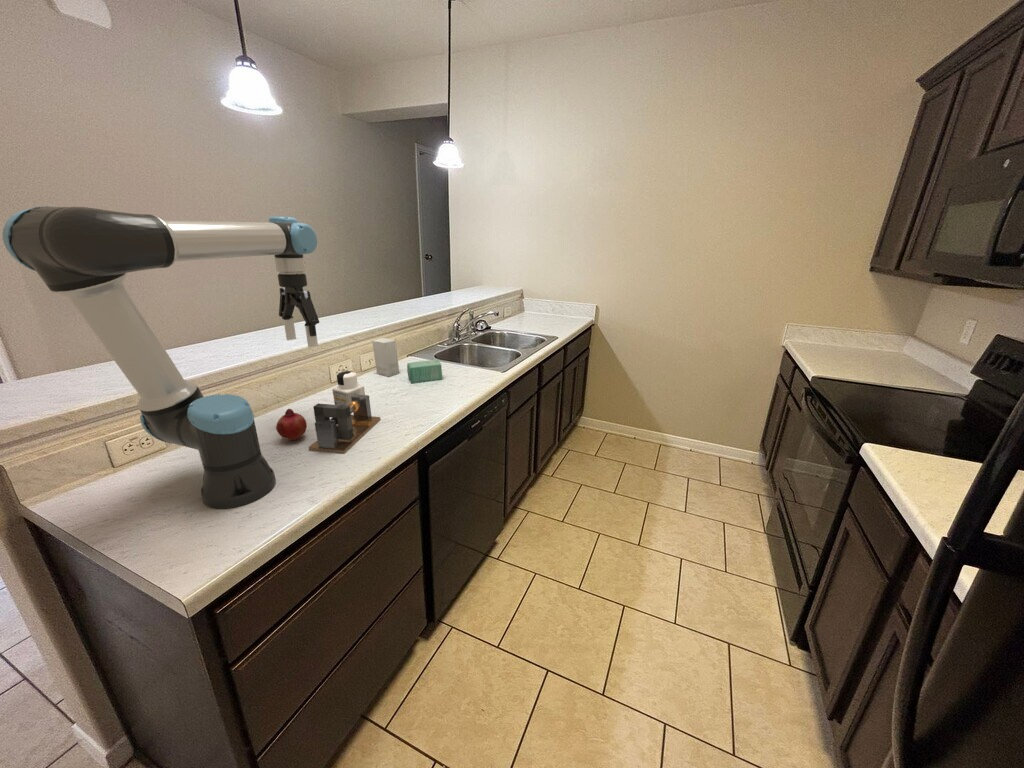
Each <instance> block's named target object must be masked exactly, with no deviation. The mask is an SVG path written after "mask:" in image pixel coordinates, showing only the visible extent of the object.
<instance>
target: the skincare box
mask: <svg viewBox="0 0 1024 768" xmlns="http://www.w3.org/2000/svg"><path fill="white" fill-rule="evenodd" d="M371 342H372V349H373V357H374V363H375V370H376V374H377V375H381V376H384V377H388V378H389V377H393V376H395V375H398V374H400V365H399V358H398V350H397V341H396V339H393V338H385V337H381V338H378V339H374V340H372V341H371Z"/></svg>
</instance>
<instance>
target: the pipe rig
mask: <svg viewBox="0 0 1024 768" xmlns="http://www.w3.org/2000/svg"><path fill="white" fill-rule="evenodd" d="M351 399H352V402H351V403H349V404H348V406H350V412H351V420H352V427H353V434H354V437H353V438H352V439H351V440H341V439H338V434H337V427H336V426H338V422H337V418H332V417H330V420H318V421H317V422H316V421H315V422H314V428H315V434H316V441H314V442H313V443H312V444H311V445H309V446H308V451H312V452H321V453H322V452H323V453H331V454H332V453H333V454H335V453H336V454H343V455H344V454H346V453H347V452H348V451H349V450H350V449H351V448H352V447H353V446H355V444H356V443H358V442H359V441H360V440H361V439H362V438H363V437H364V436H365V435H366V434H367V433H368V432H369V431H370V430H371V429H373V428H374V427H375V426H376V425H377V424H378V423H379V422H380V421H381V416H372V409H371V408H372V407H371V401H370V400H371V399H370V395H368V394H365V395H357V394H355V395H353V396H352V397H351ZM352 413H353V414H352Z"/></svg>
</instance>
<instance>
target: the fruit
mask: <svg viewBox="0 0 1024 768" xmlns="http://www.w3.org/2000/svg"><path fill="white" fill-rule="evenodd" d="M275 427H276V431H277V434H278V435H279V436H280V437H282V438H284V439H287V440H289V441H295V440H298V439H299V438H301V437H302V436H303V435H304V434H306V431H307V427H308V425H307V420H306V418H305V417H304V416H303V415H302V414H300V413H297V412H294V410H293V409H291V408H288V409H286V411H285V413H284V415H282V416H281V417H280V418H279V419H278V421H277V423H276V426H275Z"/></svg>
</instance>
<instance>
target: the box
mask: <svg viewBox="0 0 1024 768" xmlns="http://www.w3.org/2000/svg"><path fill="white" fill-rule="evenodd" d="M406 366H407V367H406V368H407V369H406V370H407V371H406V372H407V377H408V380H409V381H410V383H411V384H421V383H428V382H435V381H440V380H441V381H442V380H443V372H442V370H443V369H442V363H441V362H440V360H439V359H430V360H422V361H421V360H420V361H413V362H407V365H406Z"/></svg>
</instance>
